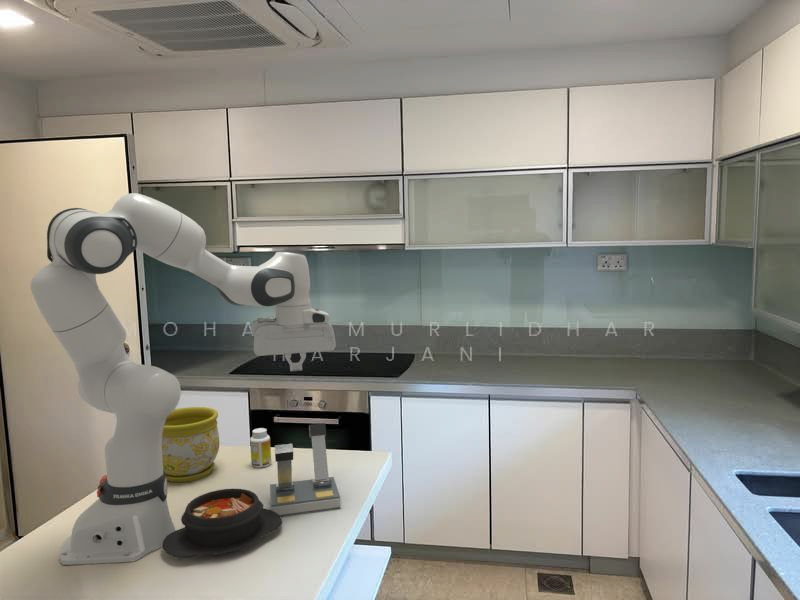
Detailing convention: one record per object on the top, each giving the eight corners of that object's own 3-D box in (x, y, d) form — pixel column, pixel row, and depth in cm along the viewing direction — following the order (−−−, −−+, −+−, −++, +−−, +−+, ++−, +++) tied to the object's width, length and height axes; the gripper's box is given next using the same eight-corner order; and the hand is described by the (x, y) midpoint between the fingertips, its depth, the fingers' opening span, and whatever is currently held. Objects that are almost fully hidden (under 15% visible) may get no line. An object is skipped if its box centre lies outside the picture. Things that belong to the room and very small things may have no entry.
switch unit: (271, 518, 138) (271, 504, 138) (270, 495, 150) (269, 483, 150) (340, 508, 142) (340, 495, 142) (334, 487, 154) (333, 475, 153)
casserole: (264, 508, 144) (263, 474, 143) (295, 540, 128) (293, 502, 127) (154, 539, 130) (152, 502, 129) (174, 579, 115) (171, 537, 114)
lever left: (276, 495, 144) (274, 453, 135) (275, 487, 145) (273, 445, 137) (294, 493, 145) (294, 451, 136) (293, 485, 146) (293, 443, 138)
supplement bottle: (272, 460, 174) (270, 426, 173) (270, 467, 168) (268, 432, 167) (253, 461, 173) (251, 427, 172) (250, 469, 168) (248, 433, 167)
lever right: (313, 487, 145) (308, 424, 151) (313, 488, 147) (308, 427, 153) (331, 485, 146) (326, 423, 152) (331, 486, 148) (325, 425, 154)
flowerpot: (216, 483, 159) (212, 423, 157) (145, 489, 156) (140, 428, 154) (225, 458, 176) (222, 404, 175) (162, 463, 174) (158, 408, 172)
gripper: (250, 320, 143) (253, 376, 145) (335, 315, 148) (337, 369, 150) (250, 316, 149) (253, 370, 151) (332, 312, 154) (334, 364, 156)
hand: (296, 370), depth 150 cm, fingers closed
